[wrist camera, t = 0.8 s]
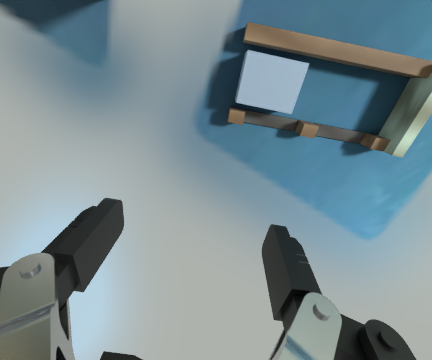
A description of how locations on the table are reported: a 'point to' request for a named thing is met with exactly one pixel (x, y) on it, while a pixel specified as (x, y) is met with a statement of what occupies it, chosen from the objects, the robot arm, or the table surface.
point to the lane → (361, 57)
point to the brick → (270, 81)
